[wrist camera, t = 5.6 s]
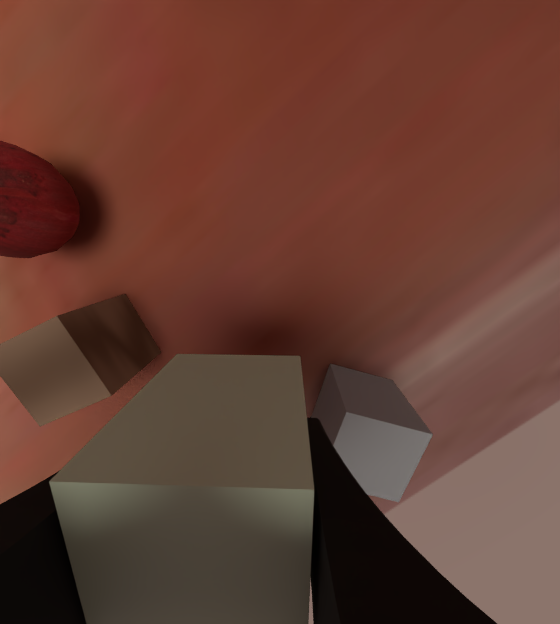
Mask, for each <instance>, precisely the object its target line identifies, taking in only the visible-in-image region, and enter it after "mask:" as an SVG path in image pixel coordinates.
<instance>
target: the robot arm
mask: <svg viewBox="0 0 560 624" xmlns="http://www.w3.org/2000/svg"><path fill="white" fill-rule="evenodd" d="M307 424H308V434H309V444H310V453H311V463H312V472H313V482H314V508H313V530H312V552H311V574H310V577H311V587H312V602H313V618H314V619H313V620H314V624H497V623H496V622H495V621H493V620H492V619H491V618H490V617H489V616H487V615H486V614H485V613H484V612H483V611H482V610H480V609H479V608H478V607H477V606H476V605H474V604H473V603H472V602H471V601H470V600H469V599H467V598H466V597H465V596H464V595H463V594H462V593H461V592H460V591H459V590H458V589H456V588H455V587H454V586H453V585H452V584H451V583H450V582H449V581H448V580H447V579H446V578H444V577H443V576H442V575H441V574H440V573H439V572H438V571H437V570H436V569H435V568H434V567H433V566H432V565H431V564H430V563H429V562H428V561H427V560H426V559H425V558H424V557H423V556H422V555H421V554H420V553H419V552H418V551H417V550H416V549H415V548H414V547H413V546H412V545H411V544H410V543H409V542H408V541H407V540H406V539H405V538H404V537H403V535H402V534H401V533H400V532H399V531H398V530H397V529H396V528H395V527H394V526H393V524H392V523H391V522H390V521H389V520H388V519H387V518H386V517H385V515H384V514H383V513H382V512H381V511H380V510H379V508H378V507H377V506H376V505H375V504H374V502H373V501H372V500H371V499H370V497H369V496H368V495H367V494H366V492H365V491H364V490H363V488H362V487H361V486H360V484H359V483H358V482H357V480H356V479H355V478H354V476H353V475H352V474H351V472H350V471H349V469H348V468H347V466H346V465H345V463H344V462H343V460H342V459H341V457H340V456H339V454H338V453H337V451H336V449H335V448H334V446H333V444H332V443H331V441H330V439H329V437H328V436H327V434H326V432H325V430H324V428H323V426H322V424H321V422H320V420H319V419H318V418H307ZM58 472H59V471H58ZM58 472H57V473H58ZM57 473H55V474H54V475H52V476H50V477H48V478H47V479H45V480H43V481H42V482H40V483H38V484H36V485H35V486H33V487H31V488H29V489H28V490H26V491H24V492H22V493H20V494H18V495H17V496H15V497H13V498H11V499H9V500H7V501H6V502H4V503H2V504H0V624H86V620H85V616H84V612H83V609H82V605H81V601H80V597H79V593H78V590H77V586H76V582H75V578H74V574H73V571H72V567H71V563H70V559H69V555H68V552H67V548H66V544H65V540H64V537H63V533H62V529H61V525H60V521H59V518H58V514H57V510H56V506H55V502H54V499H53V495H52V491H51V487H50V483H49V481H50V480H51V479H52V478H53V477H54V476H55V475H56V474H57Z"/></svg>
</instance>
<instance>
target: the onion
mask: <svg viewBox="0 0 560 624" xmlns="http://www.w3.org/2000/svg"><path fill="white" fill-rule="evenodd" d="M79 214H80V205H79V202H78V200H77V198H76V195H75V193H74V190H73V188H72V186H71V185H70V184H69V183H68V182H67V181H66V180H65V178H64V177H63V176H62V175H61V174H60V173H59V172H58V171H57V170H56V169H55V168H54V167H53V165H52V164H51V163H49V162H47V161H46V160H44V159H42V158H40V157H39V156H37V155H35V154H33V153H31V152H29V151H26V150H24V149H22V148H20V147H18V146H16V145H13V144H9V143H6V142H3V141H0V256H7V257H16V258H32V257H35V256H38V255H42V254H45V253H49V252H53V251H57V250H58V249H59V248H60V247H61V246H62V245H64V244H65V243H66V242H67V241H68V240H69V239H71V238H72V237H73V236H74V233H75V231H76V229H77V227H78V225H79Z"/></svg>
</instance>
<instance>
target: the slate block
mask: <svg viewBox="0 0 560 624" xmlns="http://www.w3.org/2000/svg"><path fill="white" fill-rule="evenodd" d="M311 418H318V419H319V420H320V422H321V424H322V426H323V428H324V430H325V432H326V434H327V436H328V437H329V439H330V441H331V443H332V444H333V446H334V448H335V449H336V451H337V453H338V454H339V456H340V457H341V459H342V460H343V462H344V463H345V465H346V466H347V468H348V469H349V471H350V472H351V474H352V475H353V476H354V478H355V479H356V480H357V482H358V483H359V484H360V486H361V487H362V488H363V490H364V491H365V492H366V494H368V495H372V496H376V497H380V498H384V499H388V500H392V501H396V502H399V501H400V499H401V497H402V495H403V493H404V491H405V489H406V487H407V485H408V483H409V481H410V479H411V477H412V475H413V473H414V471H415V469H416V467H417V465H418V463H419V461H420V459H421V457H422V455H423V453H424V451H425V449H426V447H427V445H428V443H429V441H430V439H431V437H432V435H433V434H432V433H431V431H430V430H429V429H428V427H427V426H426V425H425V423H424V422H423V421H422V419H421V418H420V417H419V415H418V414H417V413H416V411H415V410H414V408H413V407H412V406H411V404H410V403H409V402H408V400H407V399H406V398H405V396H404V395H403V394H402V392H401V391H400V390H399V388H398V387H397V386H396V384H395V383H394V382H393V380H390V379H386V378H382V377H379V376H375V375H371V374H367V373H364V372H360V371H356V370H352V369H349V368H345V367H341V366H337V365H334V364H330V365H329V368H328V371H327V374H326V376H325V379H324V382H323V385H322V388H321V390H320V393H319V396H318V399H317V402H316V405H315V407H314V410H313V413H312V416H311Z"/></svg>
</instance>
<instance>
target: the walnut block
mask: <svg viewBox="0 0 560 624" xmlns="http://www.w3.org/2000/svg"><path fill="white" fill-rule="evenodd" d="M160 353H161V351H160V349H159V348H158V346H157V345H156V343H155V341H154V340H153V338H152V336H151V335H150V333H149V331H148V330H147V328H146V327H145V325H144V323H143V322H142V320H141V318H140V317H139V315H138V313H137V312H136V310H135V308H134V307H133V305H132V304H131V302H130V300H129V299H128V297H127V295H126V294H123V295H120V296H117V297H114V298H111V299H108V300H105V301H101V302H98V303H95V304H92V305H89V306H86V307H83V308H80V309H77V310H74V311H71V312H68V313H65V314H61V315H58V316H56V317H54V318H52V319H50V320H48V321H46V322H44V323H42V324H40V325H38V326H36V327H34V328H32V329H30V330H28V331H26V332H24V333H22V334H20V335H18V336H16V337H14V338H12V339H10V340H8V341H6V342H4V343H1V344H0V376H1V377H2V379H3V380H4V381H5V383H6V384H7V385H8V386H9V388H10V389H11V390H12V391H13V393H14V394H15V395H16V397H17V398H18V399H19V400H20V402H21V403H22V404H23V405H24V407H25V408H26V409H27V411H28V412H29V413H30V414H31V416H32V417H33V418H34V419H35V421H36V422H37V423H38V425H39V426H42V425H45V424H47V423H49V422H52V421H54V420H56V419H59V418H61V417H63V416H66V415H68V414H70V413H73V412H75V411H77V410H80V409H82V408H84V407H86V406H89V405H91V404H93V403H96V402H98V401H100V400H103V399H105V398H107V397H110V396H112V395H113V394H114V393H115V392H116V391H117V390H119V389H120V388H121V387H122V386H123V385H124V384H125V383H127V382H128V381H129V380H130V379H131V378H132V377H133V376H135V375H136V374H137V373H138V372H139V371H140V370H141V369H143V368H144V367H145V366H146V365H147V364H148V363H149V362H151V361H152V360H153V359H154V358H155V357H156V356H157V355H158V354H160Z"/></svg>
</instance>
